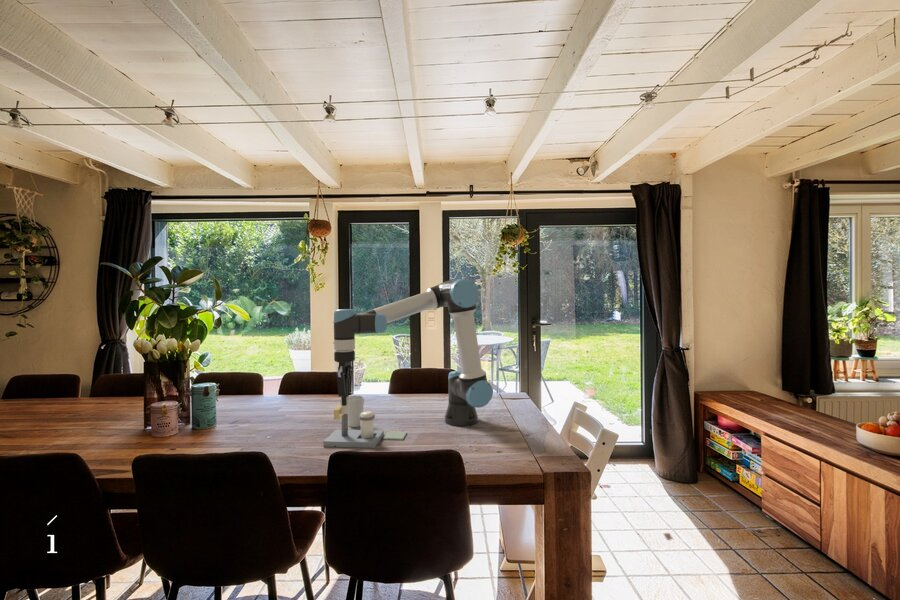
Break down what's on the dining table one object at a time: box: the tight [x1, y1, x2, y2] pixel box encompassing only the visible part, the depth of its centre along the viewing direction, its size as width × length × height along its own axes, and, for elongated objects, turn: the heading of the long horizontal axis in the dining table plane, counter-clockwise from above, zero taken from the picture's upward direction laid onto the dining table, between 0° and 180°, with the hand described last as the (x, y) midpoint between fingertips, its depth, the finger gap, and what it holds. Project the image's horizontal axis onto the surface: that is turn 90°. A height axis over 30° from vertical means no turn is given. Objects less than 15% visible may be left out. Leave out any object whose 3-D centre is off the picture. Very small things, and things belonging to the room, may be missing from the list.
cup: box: [348, 395, 365, 428], centre depth 182 cm, size 8×8×12 cm
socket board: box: [322, 414, 385, 449], centre depth 161 cm, size 20×14×12 cm
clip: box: [333, 399, 344, 420], centre depth 156 cm, size 14×3×4 cm, turn 1°
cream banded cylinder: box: [359, 410, 376, 439], centre depth 161 cm, size 6×6×11 cm
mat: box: [382, 430, 407, 441], centre depth 166 cm, size 8×8×1 cm
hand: (345, 413), depth 152 cm, fingers closed
